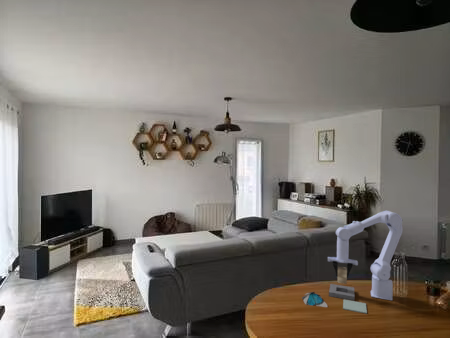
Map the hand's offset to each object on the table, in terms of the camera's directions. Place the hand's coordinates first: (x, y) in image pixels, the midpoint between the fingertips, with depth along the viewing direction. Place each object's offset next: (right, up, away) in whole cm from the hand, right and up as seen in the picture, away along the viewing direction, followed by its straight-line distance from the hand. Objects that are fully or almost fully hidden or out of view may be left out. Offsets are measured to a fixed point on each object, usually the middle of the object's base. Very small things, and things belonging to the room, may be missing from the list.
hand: (342, 276), depth 153 cm
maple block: (0, -3, 0) cm, 3 cm away
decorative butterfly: (-18, -9, -10) cm, 23 cm away
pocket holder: (0, -9, 0) cm, 9 cm away
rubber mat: (0, -9, -14) cm, 17 cm away
